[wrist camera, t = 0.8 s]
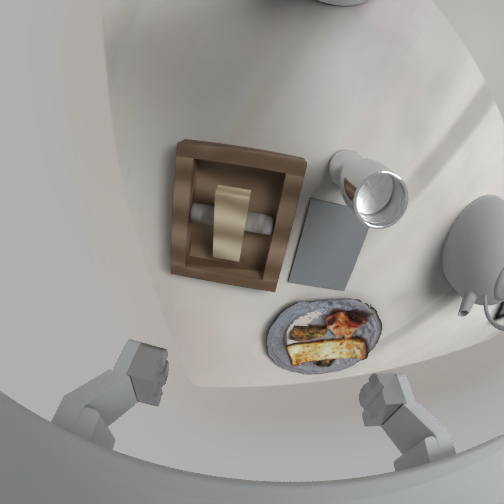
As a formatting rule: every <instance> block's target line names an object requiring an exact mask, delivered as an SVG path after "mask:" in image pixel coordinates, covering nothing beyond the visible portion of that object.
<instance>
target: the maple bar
mask: <svg viewBox="0 0 504 504" xmlns="http://www.w3.org/2000/svg"><path fill="white" fill-rule="evenodd" d="M250 193H251V190H247V189H241V188H235V187H229V186H222V185H218V186H217V190H216V193H215V208H214V235H213V257H215V258H220V259H226V260H232V261H237V262H239V260H240V254H241V248H242V242H243V236H244V230H245V223H246V217H247V211H248V205H249V199H250Z"/></svg>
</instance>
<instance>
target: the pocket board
mask: <svg viewBox="0 0 504 504" xmlns="http://www.w3.org/2000/svg"><path fill="white" fill-rule="evenodd" d="M306 166H307V162H306V161H305V159H304V158H301V157H296V156H291V155H286V154H281V153H276V152H271V151H265V150H260V149H254V148H248V147H242V146H235V145H228V144H221V143H214V142H206V141H197V140H188V139H185V140H183V141H181V142H178V143H177V153H176V164H175V177H174V191H173V209H172V234H171V274H175V275H181V276H186V277H191V278H196V279H202V280H207V281H213V282H218V283H224V284H229V285H235V286H241V287H247V288H253V289H259V290H265V291H271V292H275V290H276V286H277V283H278V279H279V275H280V271H281V268H282V264H283V260H284V256H285V252H286V248H287V244H288V241H289V237H290V233H291V229H292V225H293V221H294V217H295V213H296V209H297V204H298V200H299V196H300V192H301V188H302V184H303V179H304V175H305V171H306ZM218 185H222V186H229V187H235V188H241V189H247V190H251V193H250V199H249V205H248V211H247V217H246V223H245V230H244V236H243V242H242V248H241V254H240V260H239V262H237V261H232V260H226V259H220V258H215V257H213V235H214V208H215V193H216V190H217V186H218Z"/></svg>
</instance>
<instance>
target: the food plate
mask: <svg viewBox="0 0 504 504" xmlns="http://www.w3.org/2000/svg"><path fill="white" fill-rule="evenodd" d="M348 299H349V298H348ZM326 304H328V305H326ZM370 306H371V305H370ZM321 308H323V309H325V310H322V309H321ZM330 308H332V309H330ZM316 309H321V310H319V311H321V313H322V315H318V317H319V318H315V319H313V321H311V323H310V324H307V325H309V326H295V325H294V326H295V327H294V328H293V330H291V332H290V336H291V338H290V340H295V341H303V340H305V341H304V342H297V343H293V344H292V343H291V344H290V345H287V330H288V328H289V327H290V324H293V321H295V320H296V319H299V318H298V317H300V316H302V317H303V316H306V315H308V314H306V313H308V312H313V311H315V310H316ZM329 309H330V310H329ZM317 311H318V310H317ZM322 311H323V312H322ZM325 311H327V312H325ZM324 312H325V314H323V313H324ZM315 313H317V312H316V311H315ZM320 316H321V318H320ZM308 318H309V317H308ZM311 318H312V317H310V319H311ZM315 321H316V322H315ZM295 323H296V322H295ZM381 331H382V323H381V320H380V319H379V316H378V314H377V311H376V310H375V309H374V308H373V307H369V305H368V304H367V303H362V302H361V301H360V300H358V299H351V300H350V299H349V300H347V299H342V300H340V299H339V300H327V301H316V302H311V303H310V302H308V303H306V302H303V301H302V302H299V303H297V304H295V305H292V306H291V307H289V308H287V309H286V310H285V311H283V312H282V313H281V315H279V317H278V319H277V320H276V321H275V323H274V324H273V325H272V326H271V328H270V330H269V333H268V337H267V345H268V353H269V356H270V357H271V358H272V359H273V360H274V361H275V362H276V364H278V365H279V366H281V367H282V368H284V369H286V370H289V371H291V372H298V373H303V374H305V373H307V374H309V375H310V374H311V373H315V374H322V373H329V372H333V371H334V372H335V371H337V370H338V371H340V370H343V369H345V368H348V367H350V366H352V365H354V364H355V363H357V362H359V361H360V360H364V359H367V356H368V353H369V352H370V351H371V350H372V349H374V347H375V345H376V344H377V342H378V340H379V338H380V335H381ZM306 340H307V341H306ZM311 341H312V342H311ZM307 374H306V375H307Z"/></svg>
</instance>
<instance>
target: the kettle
mask: <svg viewBox="0 0 504 504" xmlns="http://www.w3.org/2000/svg"><path fill="white" fill-rule="evenodd" d="M442 271H443V274H444V277H445V279H446V280H447V282H448V283H449V284H450V285H451V286H452V287H453V288H454V290H455V291H456V292H457V293H458V294H459V295H460V296H462V297H463V300H462V303H461V306H460V309H459V312H458V315H459V316H466V315H467V314H468V313H469V312H470V310H471V308H472V306H473V305H474V303H475V304H478V305H484V311H485V315H486V317H487V319H488V321H489V322H490V323H491V324H492V325H493V326H494V327H495V328H497V329H499V330H503V331H504V326H502V325H499V324H497V323H496V322H495V321H494V320H493V319H492V318H491V316H490V314H489V311H488V306H487V305H494V304H498V303H500V302H503V301H504V200H503V199H501V198H500V197H498V196H495V195H485V196H482V197H479V198H477V199H475V200H474V201H472V202H471V203H470V204H469V205H467V206H466V207H465V208H464V209H463V210H462V212H461V213H460V214H459V215H458V217H457V218H456V220H455V221H454V223H453V224H452V226H451V228H450V230H449V232H448V235H447V237H446V240H445V243H444V247H443V251H442Z"/></svg>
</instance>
